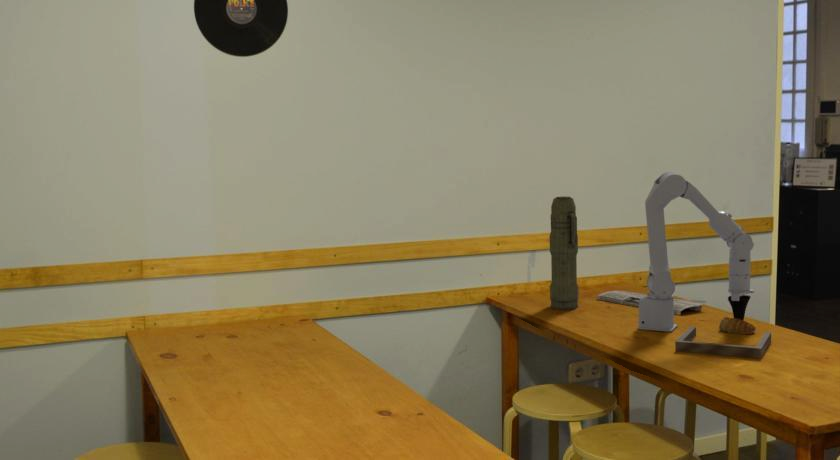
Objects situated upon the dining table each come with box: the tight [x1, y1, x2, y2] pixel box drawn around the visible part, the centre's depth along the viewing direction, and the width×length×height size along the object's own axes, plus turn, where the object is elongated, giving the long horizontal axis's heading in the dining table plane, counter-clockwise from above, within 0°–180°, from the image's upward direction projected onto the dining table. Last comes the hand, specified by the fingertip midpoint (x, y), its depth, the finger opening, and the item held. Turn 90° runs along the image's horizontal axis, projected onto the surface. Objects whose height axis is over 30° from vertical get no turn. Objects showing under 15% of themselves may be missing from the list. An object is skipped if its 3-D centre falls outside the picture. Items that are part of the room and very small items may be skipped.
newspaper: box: [596, 290, 707, 316], centre depth 308 cm, size 35×12×4 cm, turn 37°
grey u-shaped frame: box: [674, 325, 772, 359], centre depth 253 cm, size 21×18×2 cm
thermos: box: [549, 196, 580, 311], centre depth 306 cm, size 9×12×35 cm
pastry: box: [718, 316, 757, 335], centre depth 269 cm, size 9×7×4 cm
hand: (738, 321), depth 274 cm, fingers closed
